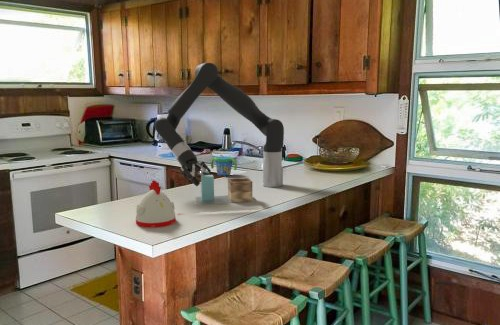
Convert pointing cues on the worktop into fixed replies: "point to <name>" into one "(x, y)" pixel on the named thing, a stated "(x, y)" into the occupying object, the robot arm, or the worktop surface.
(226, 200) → the baseplate
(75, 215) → the worktop surface
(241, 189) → the wooden crate
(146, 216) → the kitchen timer
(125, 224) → the worktop surface
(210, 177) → the teal brick
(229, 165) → the snack cup
